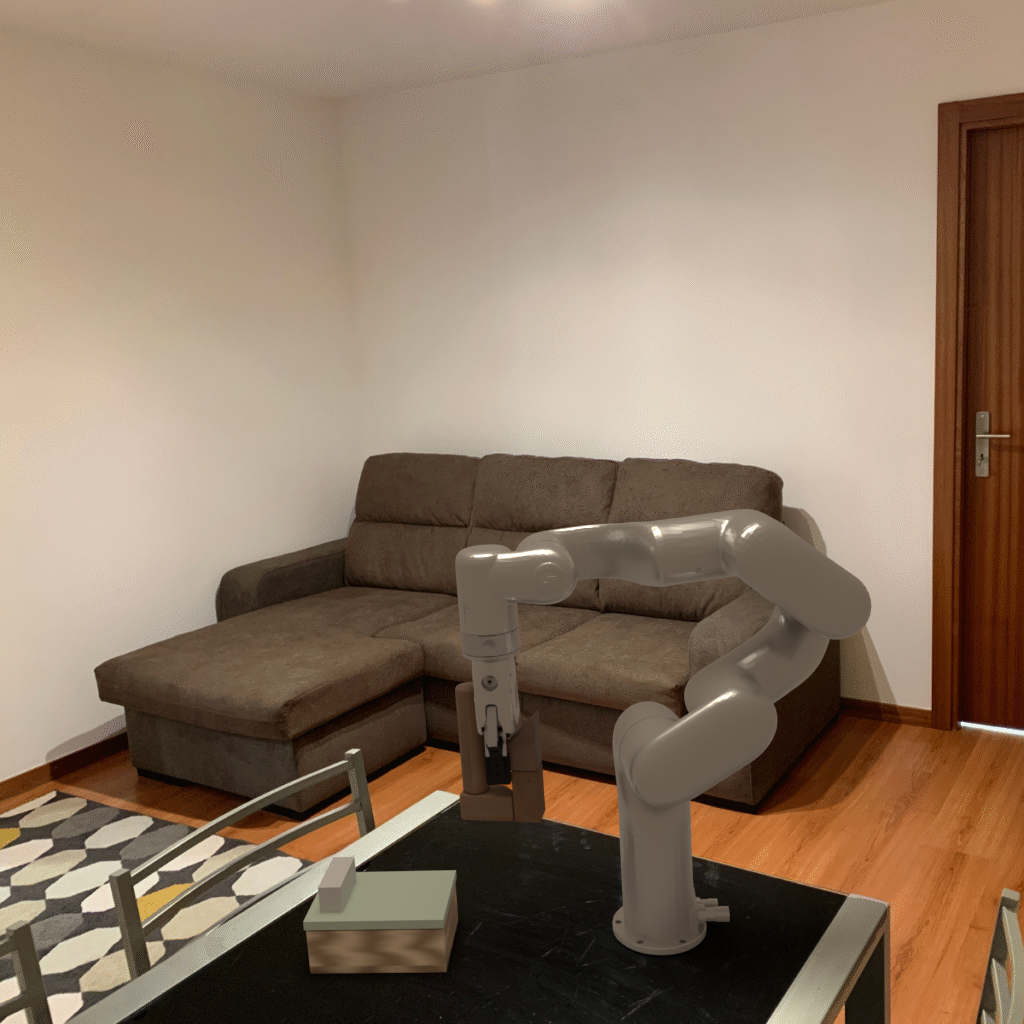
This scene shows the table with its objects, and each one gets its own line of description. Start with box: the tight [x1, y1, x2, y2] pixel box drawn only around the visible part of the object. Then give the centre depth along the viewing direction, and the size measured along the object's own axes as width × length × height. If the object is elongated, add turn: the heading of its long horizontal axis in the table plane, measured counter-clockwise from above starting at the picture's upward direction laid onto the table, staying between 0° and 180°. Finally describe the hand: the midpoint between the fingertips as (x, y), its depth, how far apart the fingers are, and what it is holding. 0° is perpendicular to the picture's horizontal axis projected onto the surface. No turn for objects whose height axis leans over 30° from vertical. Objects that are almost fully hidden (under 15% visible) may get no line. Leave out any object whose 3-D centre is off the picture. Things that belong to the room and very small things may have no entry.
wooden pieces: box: [454, 681, 546, 824], centre depth 132 cm, size 4×11×18 cm, turn 78°
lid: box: [302, 856, 458, 931], centre depth 137 cm, size 18×12×5 cm
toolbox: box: [305, 883, 459, 975], centre depth 137 cm, size 18×12×6 cm, turn 85°
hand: (500, 774), depth 133 cm, fingers closed on wooden pieces, 4 cm apart
